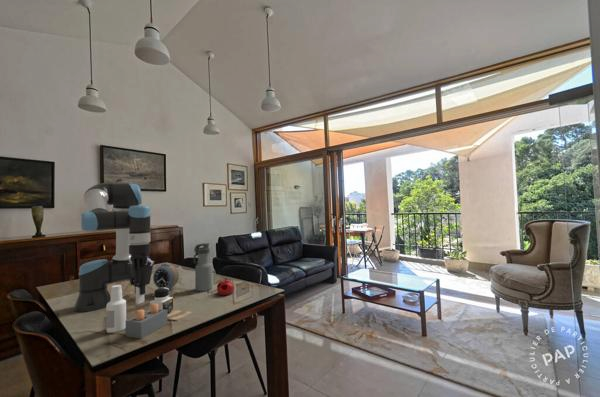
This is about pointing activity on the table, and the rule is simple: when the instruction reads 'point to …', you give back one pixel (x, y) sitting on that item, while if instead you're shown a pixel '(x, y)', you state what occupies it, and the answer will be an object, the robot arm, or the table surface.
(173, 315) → the cork pad
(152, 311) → the plunger
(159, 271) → the alarm clock
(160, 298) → the medicine bottle
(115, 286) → the spray bottle
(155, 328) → the grey plunger block
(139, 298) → the robot arm
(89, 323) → the table surface
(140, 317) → the plunger
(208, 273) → the water bottle
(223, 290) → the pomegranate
